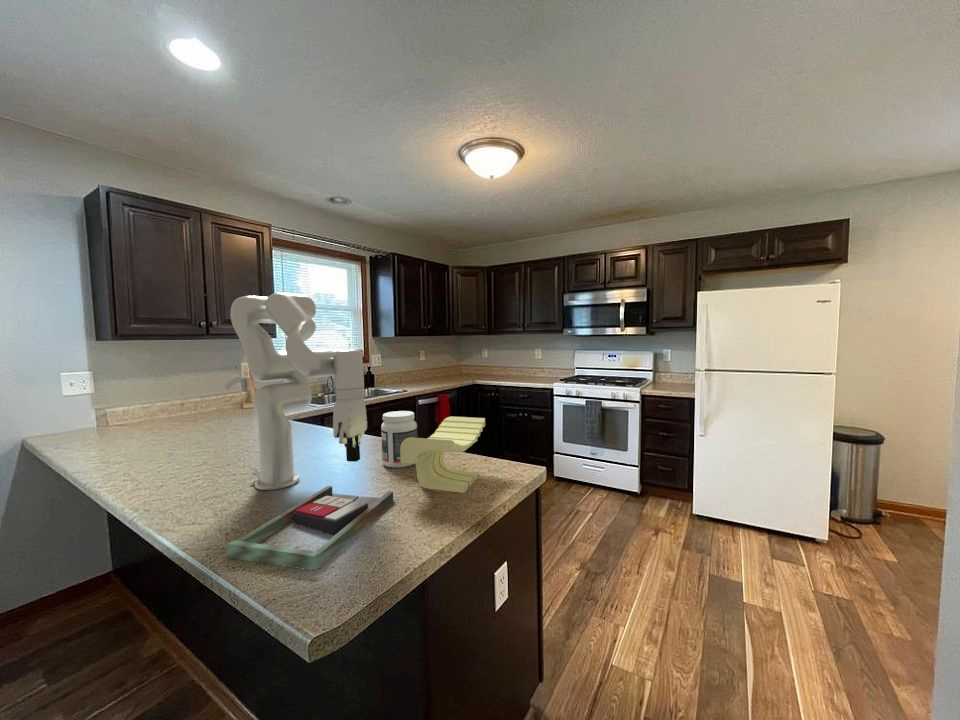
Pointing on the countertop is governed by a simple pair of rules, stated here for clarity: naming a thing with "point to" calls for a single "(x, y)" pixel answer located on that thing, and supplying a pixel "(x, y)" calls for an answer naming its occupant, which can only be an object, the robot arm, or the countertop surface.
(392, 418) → the supplement tub
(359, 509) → the calculator
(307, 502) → the channel
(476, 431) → the slatted curved stool
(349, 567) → the countertop surface
